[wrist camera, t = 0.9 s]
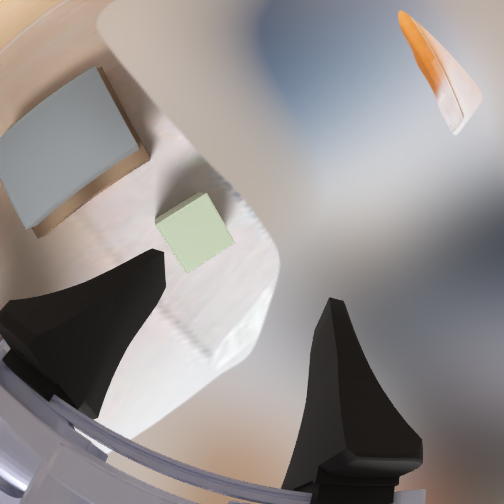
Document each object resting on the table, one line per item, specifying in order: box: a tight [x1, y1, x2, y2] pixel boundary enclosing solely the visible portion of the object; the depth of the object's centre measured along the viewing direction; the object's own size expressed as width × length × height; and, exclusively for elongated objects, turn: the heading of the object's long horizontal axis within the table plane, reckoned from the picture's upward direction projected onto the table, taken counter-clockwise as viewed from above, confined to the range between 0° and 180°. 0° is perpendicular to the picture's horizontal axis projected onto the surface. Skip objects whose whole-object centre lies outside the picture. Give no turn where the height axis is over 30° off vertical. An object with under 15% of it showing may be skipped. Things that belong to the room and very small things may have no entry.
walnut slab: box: [32, 67, 150, 239], centre depth 19 cm, size 12×10×2 cm
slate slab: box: [0, 66, 139, 229], centre depth 17 cm, size 11×8×2 cm
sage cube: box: [155, 193, 235, 274], centre depth 23 cm, size 4×4×4 cm
